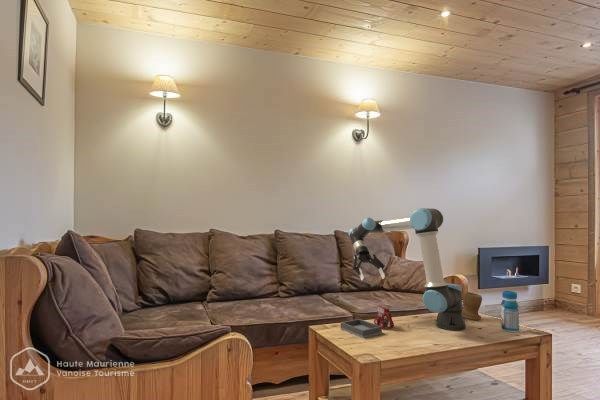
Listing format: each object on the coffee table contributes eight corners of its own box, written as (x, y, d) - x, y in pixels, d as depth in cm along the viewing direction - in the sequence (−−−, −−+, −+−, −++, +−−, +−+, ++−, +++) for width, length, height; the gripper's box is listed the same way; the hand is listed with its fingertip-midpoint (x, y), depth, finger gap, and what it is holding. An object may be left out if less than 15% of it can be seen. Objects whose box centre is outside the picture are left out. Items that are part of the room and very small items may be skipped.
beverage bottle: (510, 333, 193) (510, 294, 193) (497, 328, 201) (496, 290, 201) (523, 331, 195) (522, 293, 196) (509, 327, 203) (508, 290, 204)
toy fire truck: (385, 331, 196) (385, 310, 196) (372, 324, 207) (372, 305, 207) (396, 329, 198) (396, 309, 198) (382, 323, 210) (382, 304, 210)
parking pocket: (381, 333, 191) (381, 326, 191) (362, 338, 184) (362, 330, 184) (358, 325, 205) (358, 318, 205) (340, 329, 198) (340, 322, 198)
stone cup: (487, 319, 218) (486, 293, 219) (473, 322, 212) (473, 295, 213) (464, 313, 231) (464, 288, 232) (451, 315, 226) (451, 290, 226)
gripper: (377, 252, 235) (390, 281, 220) (340, 253, 227) (351, 283, 212) (381, 245, 230) (395, 273, 215) (344, 245, 222) (356, 275, 207)
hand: (373, 278), depth 214 cm, fingers open, 13 cm apart
